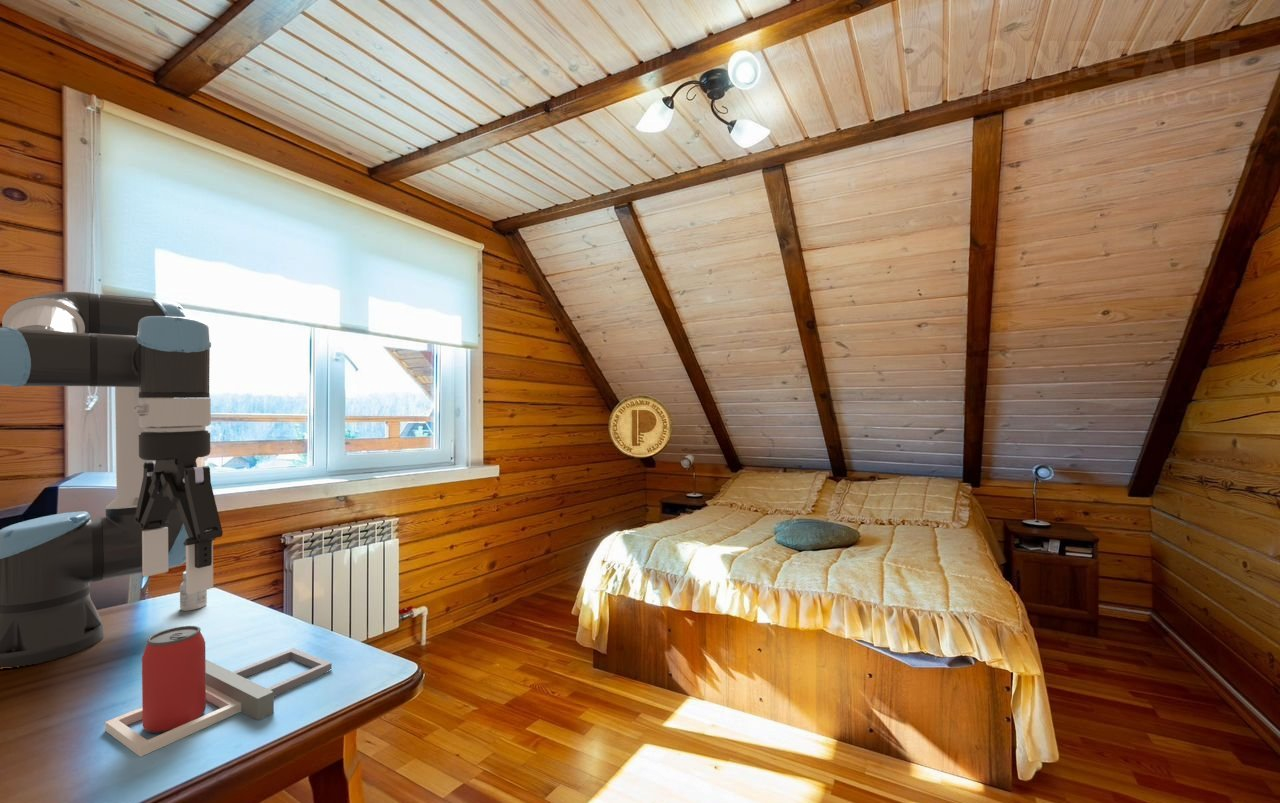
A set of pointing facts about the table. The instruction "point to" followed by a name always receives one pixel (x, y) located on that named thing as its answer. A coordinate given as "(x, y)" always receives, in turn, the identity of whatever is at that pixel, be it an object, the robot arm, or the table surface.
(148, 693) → the beer can
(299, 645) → the table surface
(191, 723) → the double frame with crossbar
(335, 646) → the table surface
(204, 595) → the pill bottle
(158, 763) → the table surface
